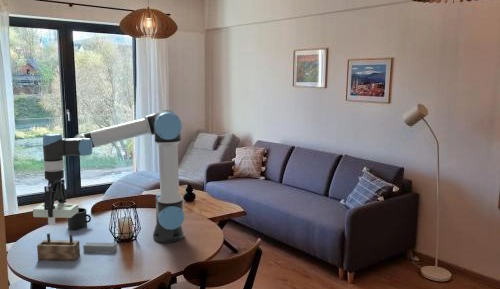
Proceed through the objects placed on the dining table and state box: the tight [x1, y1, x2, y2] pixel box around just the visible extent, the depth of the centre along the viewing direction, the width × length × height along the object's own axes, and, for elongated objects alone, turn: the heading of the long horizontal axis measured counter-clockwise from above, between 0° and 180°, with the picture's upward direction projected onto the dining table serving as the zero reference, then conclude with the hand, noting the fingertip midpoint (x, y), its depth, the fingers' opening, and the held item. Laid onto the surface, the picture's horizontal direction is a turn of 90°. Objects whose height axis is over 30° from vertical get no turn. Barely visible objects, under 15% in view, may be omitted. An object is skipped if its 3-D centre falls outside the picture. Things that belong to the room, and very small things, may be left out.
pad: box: [82, 241, 118, 254], centre depth 197 cm, size 14×4×3 cm, turn 89°
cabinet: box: [36, 233, 81, 262], centre depth 188 cm, size 16×6×10 cm, turn 89°
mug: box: [67, 207, 92, 231], centre depth 227 cm, size 9×12×9 cm
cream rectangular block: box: [32, 203, 79, 219], centre depth 185 cm, size 16×8×4 cm, turn 89°
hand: (56, 220), depth 186 cm, fingers closed on cream rectangular block, 8 cm apart
